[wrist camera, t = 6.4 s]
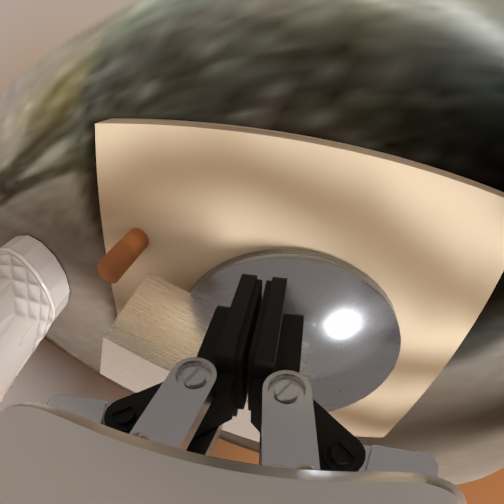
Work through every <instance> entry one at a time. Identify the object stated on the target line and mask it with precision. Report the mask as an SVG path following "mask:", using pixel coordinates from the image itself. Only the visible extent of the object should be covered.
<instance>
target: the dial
mask: <svg viewBox="0 0 504 504" xmlns="http://www.w3.org/2000/svg"><path fill="white" fill-rule="evenodd" d="M242 274H250V275H257V279H261V280H262V297H263V293H264V289H265V284H266V281H267V280H270V281H272V278H273V277H280V278H287V289H286V301H285V312H284V313H286V314H296V315H304V324H303V338H302V350H301V362H300V374H302V375H303V376H305V377H306V378H307V380H308V381H309V382H310V386H311V390H312V398H313V399H314V400H315V401H316V402H317V403H318V404H319V405H320V406H321V407H323V408H324V409H325V410H326V411H327V412H330V411H334V410H337V409H340V408H344V407H346V406H349V405H351V404H353V403H356V402H357V401H359V400H361V399H363V398H365V397H366V396H368V395H369V394H371V393H372V392H373V391H375V390H376V389H377V388H378V387H379V386H380V385H381V384H382V383H383V382H384V381H385V380H386V379H387V378H388V376H389V375H390V373H391V372H392V370H393V369H394V367H395V365H396V362H397V360H398V357H399V353H400V349H401V335H400V329H399V324H398V321H397V317H396V313H395V311H394V308H393V305H392V303H391V301H390V300H389V298H388V296H387V295H386V293H385V292H384V291H383V289H382V288H381V287H380V286H379V285H378V284H377V283H376V282H375V281H374V280H373V279H372V278H371V277H369V276H368V275H367V274H366V273H364V272H363V271H361V270H359V269H358V268H356V267H355V266H353V265H351V264H349V263H346V262H344V261H342V260H340V259H337V258H334V257H331V256H328V255H324V254H321V253H316V252H311V251H305V250H294V249H273V250H262V251H257V252H251V253H247V254H243V255H240V256H237V257H234V258H231V259H229V260H227V261H225V262H223V263H220V264H218V265H217V266H215V267H214V268H212V269H211V270H209V271H208V272H206V273H205V274H204V275H203V276H202V277H201V278H200V279H199V280H198V281H197V282H196V283H195V284H194V286H193V287H192V288H191V289H190V291H189V292H187V291H185V290H183V289H181V288H179V287H177V286H175V285H173V284H171V283H169V282H167V281H165V280H163V279H161V278H159V277H157V276H155V275H154V274H152V273H150V272H149V273H148V275H147V276H146V277H145V279H144V280H143V282H142V283H141V284H140V286H139V287H138V288H137V290H136V291H135V293H134V294H133V295H132V297H131V298H130V299H129V301H128V302H127V304H126V305H125V307H124V308H123V309H122V311H121V312H120V314H119V315H118V316H117V318H116V319H115V321H114V322H113V324H112V325H111V327H110V328H109V330H108V331H107V332H106V334H105V335H104V337H103V345H102V355H101V367H100V374H102V375H104V376H106V377H107V378H109V379H111V380H113V381H115V382H116V383H118V384H120V385H122V386H124V387H126V388H128V389H130V390H132V391H134V392H136V393H137V392H140V391H142V390H145V389H147V388H149V387H152V386H154V385H157V384H159V383H161V382H164V380H165V379H166V377H167V376H168V374H169V373H170V371H171V370H172V368H173V367H174V366H175V365H176V364H177V363H178V362H180V361H181V360H183V359H186V358H190V357H197V354H198V352H199V349H200V347H201V344H202V342H203V339H204V337H205V334H206V332H207V329H208V327H209V324H210V322H211V319H212V317H213V314H214V312H215V309H216V307H217V306H225V307H230V306H231V304H232V301H233V298H234V295H235V292H236V289H237V287H238V284H239V281H240V278H241V275H242ZM222 430H224V431H227V432H230V433H233V434H236V435H239V436H241V437H244V438H248V439H251V440H254V441H257V442H260V432H259V431H258V430H257V429H256V428H255V427H254V425H253V424H252V423H251V411H249V410H248V394H247V399H246V403H245V407H244V410H242V409H238V413H237V417H235V416H233V417H232V419H231V420H229V421H228V422H226V423H224V424H223V428H222Z"/></svg>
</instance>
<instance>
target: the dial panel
mask: <svg viewBox="0 0 504 504" xmlns="http://www.w3.org/2000/svg"><path fill="white" fill-rule="evenodd" d="M95 144H96V165H97V180H98V192H99V203H100V212H101V221H102V229H103V237H104V244H105V250H106V255H105V256H104V257H103V258H102V259H101V260H100V261H99V262H98V263H97V266H96V268H97V272H98V274H99V276H100V277H101V278H102V279H103V280H104V281H106V282H108V283H111V286H112V291H113V296H114V301H115V306H116V310H117V315H119V314H120V312H121V311H122V309H123V308H124V307H125V305H126V304H127V302H128V301H129V299H130V298H131V297H132V295H133V294H134V293H135V291H136V290H137V288H138V287H139V286H140V284H141V283H142V282H143V280H144V279H145V277H146V276H147V275H148V273H149V272H150V273H152V274H154V275H155V276H157V277H159V278H161V279H163V280H165V281H167V282H169V283H171V284H173V285H175V286H177V287H179V288H181V289H183V290H185V291H187V292H189V291H190V289H191V288H192V287H193V286H194V284H195V283H196V282H197V281H198V280H199V279H200V278H201V277H202V276H203V275H204V274H205V273H206V272H208V271H209V270H211V269H212V268H214V267H215V266H217V265H218V264H220V263H223V262H225V261H227V260H229V259H231V258H234V257H237V256H240V255H243V254H247V253H251V252H257V251H262V250H273V249H294V250H305V251H311V252H316V253H321V254H324V255H328V256H331V257H334V258H337V259H340V260H342V261H344V262H346V263H349V264H351V265H353V266H355V267H356V268H358V269H359V270H361V271H363V272H364V273H366V274H367V275H368V276H369V277H371V278H372V279H373V280H374V281H375V282H376V283H377V284H378V285H379V286H380V287H381V288H382V289H383V291H384V292H385V293H386V295H387V296H388V298H389V300H390V301H391V303H392V305H393V308H394V311H395V313H396V317H397V321H398V324H399V329H400V335H401V349H400V353H399V357H398V360H397V362H396V365H395V367H394V369H393V370H392V372H391V373H390V375H389V376H388V378H387V379H386V380H385V381H384V382H383V383H382V384H381V385H380V386H379V387H378V388H377V389H376V390H375V391H373V392H372V393H371V394H369V395H368V396H366V397H365V398H363V399H361V400H359V401H357V402H356V403H353V404H351V405H349V406H346V407H344V408H340V409H337V410H334V411H330V412H328V413H329V414H330V415H331V416H332V417H333V418H335V419H336V420H337V421H338V422H339V423H340V424H341V425H342V426H343V427H345V428H346V429H347V430H348V431H349V432H350V433H351V434H352V435H354V436H358V437H384V436H385V435H386V434H387V433H388V432H389V431H390V430H391V429H392V428H393V427H394V426H395V425H396V424H397V423H398V422H399V421H400V420H401V419H402V417H403V416H404V415H405V414H406V413H407V412H408V411H409V410H410V409H411V407H412V406H413V405H414V404H415V403H416V402H417V400H418V399H419V398H420V397H421V396H422V394H423V393H424V392H425V391H426V390H427V388H428V387H429V386H430V385H431V383H432V382H433V381H434V380H435V378H436V377H437V376H438V374H439V373H440V372H441V371H442V369H443V368H444V366H445V365H446V364H447V362H448V361H449V360H450V358H451V357H452V355H453V354H454V353H455V351H456V350H457V348H458V347H459V345H460V344H461V343H462V341H463V340H464V338H465V337H466V335H467V333H468V332H469V330H470V329H471V327H472V326H473V324H474V322H475V321H476V319H477V318H478V316H479V314H480V313H481V311H482V309H483V308H484V306H485V304H486V302H487V301H488V299H489V297H490V295H491V294H492V292H493V290H494V288H495V286H496V284H497V282H498V280H499V279H500V277H501V275H502V273H503V271H504V192H502V191H499V190H497V189H494V188H492V187H489V186H486V185H484V184H481V183H478V182H476V181H473V180H470V179H467V178H465V177H462V176H459V175H456V174H453V173H450V172H447V171H444V170H441V169H438V168H435V167H432V166H428V165H425V164H422V163H418V162H415V161H412V160H408V159H405V158H401V157H397V156H394V155H390V154H386V153H382V152H378V151H374V150H370V149H366V148H362V147H358V146H353V145H349V144H344V143H340V142H335V141H330V140H325V139H320V138H315V137H309V136H304V135H298V134H292V133H286V132H280V131H274V130H267V129H260V128H252V127H244V126H236V125H227V124H218V123H207V122H195V121H181V120H163V119H134V118H112V119H108V120H105V121H102V122H98V123H95Z"/></svg>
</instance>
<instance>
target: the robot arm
mask: <svg viewBox="0 0 504 504" xmlns="http://www.w3.org/2000/svg"><path fill="white" fill-rule="evenodd" d="M286 289H287V278H280V277H273V278H272V281H270V280H267V281H266V284H265V289H264V293H263V297H262V280H261V279H257V275H250V274H242V275H241V278H240V281H239V284H238V287H237V289H236V292H235V295H234V298H233V301H232V304H231V306H230V307H225V306H217V307H216V309H215V312H214V314H213V317H212V319H211V322H210V324H209V327H208V329H207V332H206V334H205V337H204V339H203V342H202V344H201V347H200V349H199V352H198V354H197V357H190V358H186V359H183V360H181V361H180V362H178V363H177V364H176V365H175V366H174V367H173V368H172V370H171V371H170V373H169V374H168V376H167V377H166V379H165V380H164V382H161V383H159V384H157V385H154V386H152V387H149V388H147V389H145V390H142V391H140V392H137V393H135V394H132V395H130V396H127V397H125V398H122V399H120V400H117V401H115V402H114V403H108V402H107V401H106V400H99V399H90V398H83V397H76V396H70V395H63V394H62V395H56V396H53V397H52V398H51V399H49V400H48V402H47V404H43V403H37V402H36V403H35V402H17V403H13V404H10V405H8V406H6V407H5V408H4V409H3V410H2V411H0V504H467V503H466V500H465V498H464V495H463V494H462V492H461V491H460V489H459V488H458V487H457V486H456V485H454V484H452V483H451V482H448V481H446V480H444V479H441V478H438V464H437V462H436V460H435V458H434V457H432V456H431V455H430V454H427V453H423V452H416V451H409V450H403V449H397V448H391V447H385V446H380V445H375V444H373V445H372V446H368V445H363V444H362V443H361V442H360V441H359V440H358V439H357V438H356V437H355V436H354V435H352V434H351V433H350V432H349V431H348V430H347V429H346V428H345V427H343V426H342V425H341V424H340V423H339V422H338V421H337V420H336V419H335V418H333V417H332V416H331V415H330V414H329V413H328V412H327V411H326V410H325V409H324V408H323V407H321V406H320V405H319V404H318V403H317V402H316V401H315V400H314V399H313V398H312V390H311V386H310V382H309V381H308V380H307V378H306V377H305V376H303V375H302V374H300V362H301V350H302V338H303V324H304V315H296V314H286V313H284V312H285V301H286ZM247 394H248V410H249V411H251V423H252V424H253V425H254V427H255V428H256V429H257V430H258V431H259V432H260V444H259V465H257V464H250V463H244V462H238V461H232V460H226V459H221V458H216V457H211V456H209V455H210V453H211V451H212V449H213V447H214V445H215V443H216V441H217V439H218V437H219V435H220V433H221V431H222V428H223V424H224V423H226V422H228V421H229V420H231V419H232V417H233V416H235V417H237V413H238V409H242V410H244V407H245V403H246V399H247Z"/></svg>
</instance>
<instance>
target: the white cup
mask: <svg viewBox="0 0 504 504" xmlns="http://www.w3.org/2000/svg"><path fill="white" fill-rule="evenodd" d="M69 293H70V289H69V285H68V281H67V278H66V274H65V272H64V271H63V269H62V267H61V265H60V263H59V262H58V260H57V259H56V257H55V256H54V255H53V254H52V252H51V251H50V250H49V249H48V248H47V247H46V246H45V245H44V244H43V243H42V242H40V241H38V240H37V239H35V238H33V237H31V236H29V235H22V236H16V237H15V238H13V239H12V240H10V241H9V242H8V243H6V244H5V245H3V246H2V247H1V248H0V402H2V401H3V399H4V398H5V396H6V394H7V393H8V391H9V389H10V388H11V386H12V384H13V383H14V381H15V380H16V378H17V377H18V375H19V373H20V372H21V370H22V369H23V367H24V366H25V364H26V363H27V361H28V360H29V358H30V357H31V356H32V354H33V352H34V351H35V350H36V348H37V346H38V344H39V342H40V341H41V340H42V339H43V337H44V336H45V335H46V333H47V331H48V330H49V328H50V326H51V324H52V322H53V321H54V320H55V319H56V317H57V316H58V315H59V313H60V312H61V311H62V310H63V308H64V307H65V306H66V304H67V303H68V298H69Z"/></svg>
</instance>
